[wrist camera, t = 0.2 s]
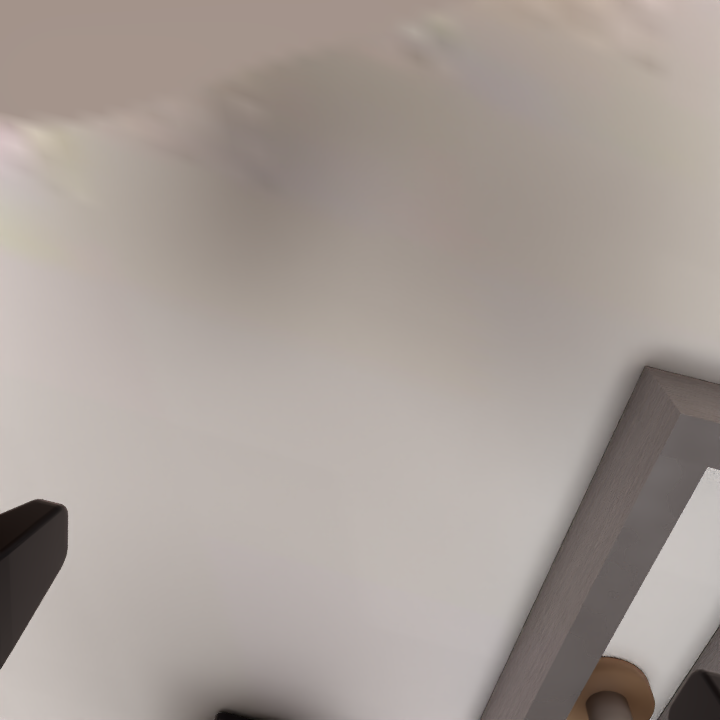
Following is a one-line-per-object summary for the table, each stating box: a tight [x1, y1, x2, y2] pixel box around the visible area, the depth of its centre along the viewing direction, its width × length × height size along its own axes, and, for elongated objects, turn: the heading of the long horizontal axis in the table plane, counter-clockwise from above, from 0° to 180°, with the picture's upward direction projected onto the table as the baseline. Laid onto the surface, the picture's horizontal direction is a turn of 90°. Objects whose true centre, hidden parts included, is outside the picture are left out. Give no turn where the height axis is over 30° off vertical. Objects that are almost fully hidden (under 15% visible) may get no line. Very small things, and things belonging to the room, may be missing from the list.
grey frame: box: [480, 366, 720, 720], centre depth 24 cm, size 20×9×4 cm, turn 168°
